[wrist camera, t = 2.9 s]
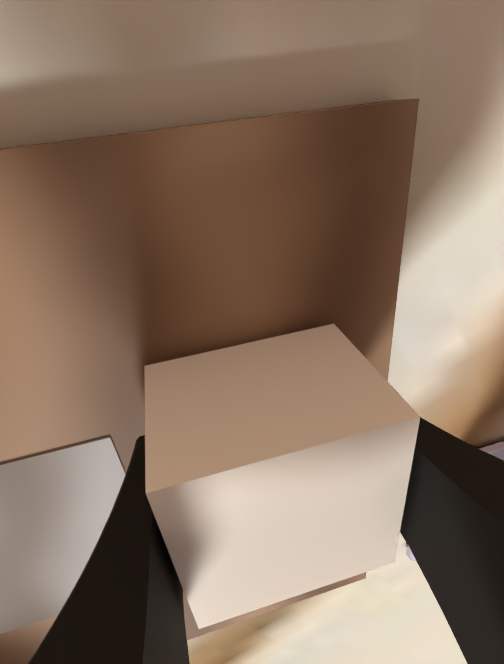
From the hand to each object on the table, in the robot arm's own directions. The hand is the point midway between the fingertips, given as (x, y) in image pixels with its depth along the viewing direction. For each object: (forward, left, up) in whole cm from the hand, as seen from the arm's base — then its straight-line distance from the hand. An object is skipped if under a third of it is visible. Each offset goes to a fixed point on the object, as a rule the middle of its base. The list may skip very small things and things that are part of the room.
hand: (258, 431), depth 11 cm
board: (+4, +3, -2) cm, 5 cm away
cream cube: (0, 0, -1) cm, 1 cm away
